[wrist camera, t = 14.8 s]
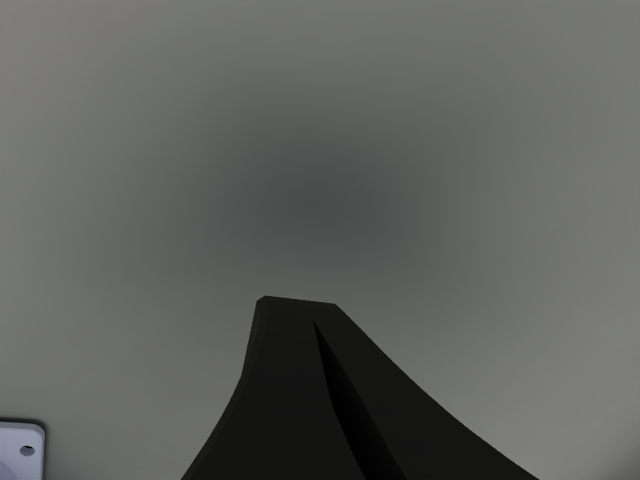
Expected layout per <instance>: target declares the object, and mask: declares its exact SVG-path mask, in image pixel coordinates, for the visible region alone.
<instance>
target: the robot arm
mask: <svg viewBox="0 0 640 480" xmlns="http://www.w3.org/2000/svg"><path fill="white" fill-rule="evenodd" d="M44 440H45V434H44V430H43V429H42V428H41V427H39V426H38V425H35V424H28V423H11V422H0V480H43V461H44ZM25 446H31V447H32V448H31V449H30V448H26V447H25ZM181 480H539V479H538V478H536V477H534V476H533V475H531V474H530V473H529V472H527V471H526V470H524V469H523V468H521V467H520V466H518V465H517V464H515V463H514V462H513V461H511V460H510V459H508V458H507V457H506V456H504V455H503V454H502V453H500V452H499V451H497V450H496V449H495V448H493V447H492V446H491V445H489V444H488V443H487V442H485V441H484V440H483V439H481V438H480V437H479V436H477V435H476V434H475V433H473V432H472V431H471V430H469V429H468V428H467V427H466V426H464V425H463V424H462V423H461V422H460V421H458V420H457V419H456V418H455V417H453V416H452V415H451V414H450V413H449V412H448V411H446V410H445V409H444V408H443V407H442V406H441V405H439V404H438V403H437V402H436V401H435V400H434V399H433V398H431V397H430V396H429V395H428V394H427V393H426V392H425V391H423V390H422V389H421V388H420V387H419V386H418V385H417V384H416V383H415V382H414V381H413V380H412V379H410V378H409V377H408V376H407V375H406V374H405V373H404V372H403V371H402V370H401V369H400V368H399V367H398V366H397V365H396V364H395V363H394V362H393V361H392V360H391V359H390V358H389V357H388V356H387V355H386V354H385V353H384V352H383V351H382V350H381V349H380V348H379V347H378V346H377V345H376V344H375V343H374V342H373V341H372V340H371V339H370V338H369V337H368V336H367V335H366V334H365V333H364V332H363V331H362V330H361V329H360V328H359V327H358V326H357V325H356V324H355V323H354V322H353V321H352V320H351V319H350V318H349V317H348V316H347V315H346V314H345V313H344V312H343V311H342V310H341V309H340V308H339V307H338V306H337V305H335V304H332V303H323V302H315V301H306V300H298V299H289V298H281V297H272V296H264V297H262V298H260V299H259V300H257V303H256V308H255V313H254V317H253V322H252V327H251V332H250V337H249V341H248V346H247V351H246V356H245V361H244V365H243V370H242V375H241V378H240V380H239V382H238V384H237V386H236V389H235V391H234V393H233V395H232V397H231V399H230V401H229V403H228V405H227V407H226V409H225V411H224V412H223V414H222V416H221V418H220V420H219V421H218V423H217V425H216V426H215V428H214V430H213V432H212V433H211V435H210V437H209V438H208V440H207V441H206V443H205V444H204V446H203V447H202V449H201V450H200V452H199V453H198V455H197V456H196V458H195V459H194V461H193V462H192V464H191V465H190V467H189V468H188V470H187V471H186V473H185V474H184V476H183V477H182V478H181Z"/></svg>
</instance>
